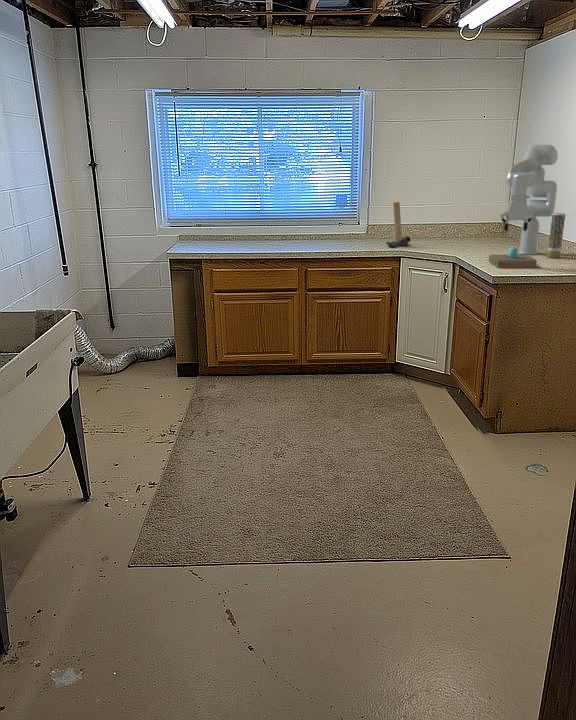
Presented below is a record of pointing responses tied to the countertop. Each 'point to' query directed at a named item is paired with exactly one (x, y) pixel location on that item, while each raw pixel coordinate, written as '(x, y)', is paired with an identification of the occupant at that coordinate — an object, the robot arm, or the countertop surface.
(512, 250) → the dowel peg
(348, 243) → the countertop surface
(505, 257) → the socket block
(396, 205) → the hammer
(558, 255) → the bark patterned cylinder
